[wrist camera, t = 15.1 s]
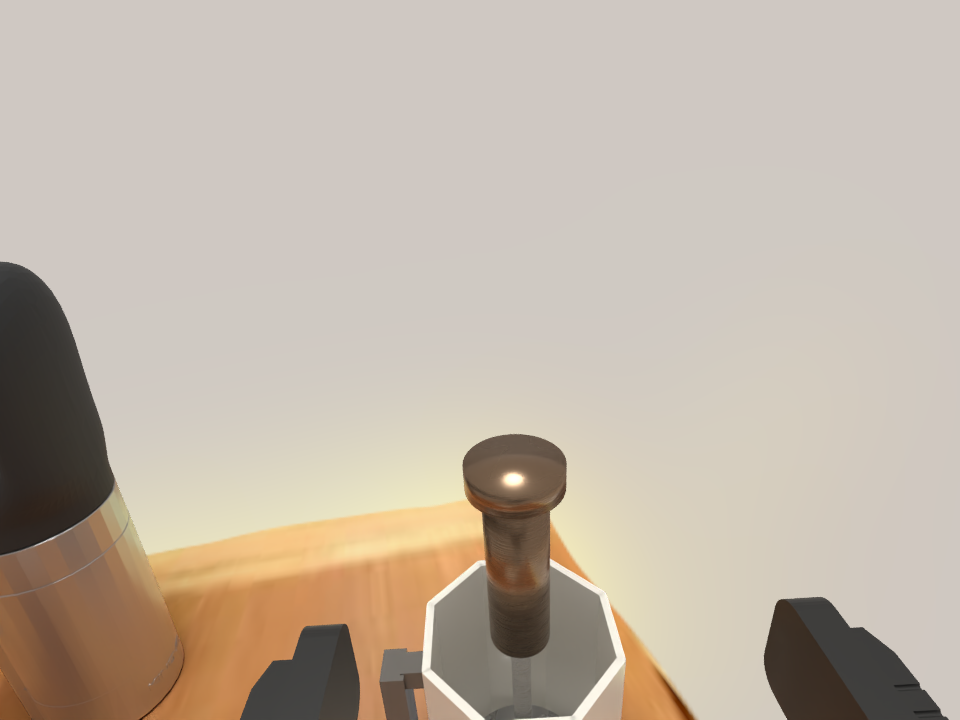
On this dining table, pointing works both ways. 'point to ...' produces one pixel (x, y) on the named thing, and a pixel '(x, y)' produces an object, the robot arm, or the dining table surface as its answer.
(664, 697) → the dining table surface
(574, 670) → the coffee press
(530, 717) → the plunger
